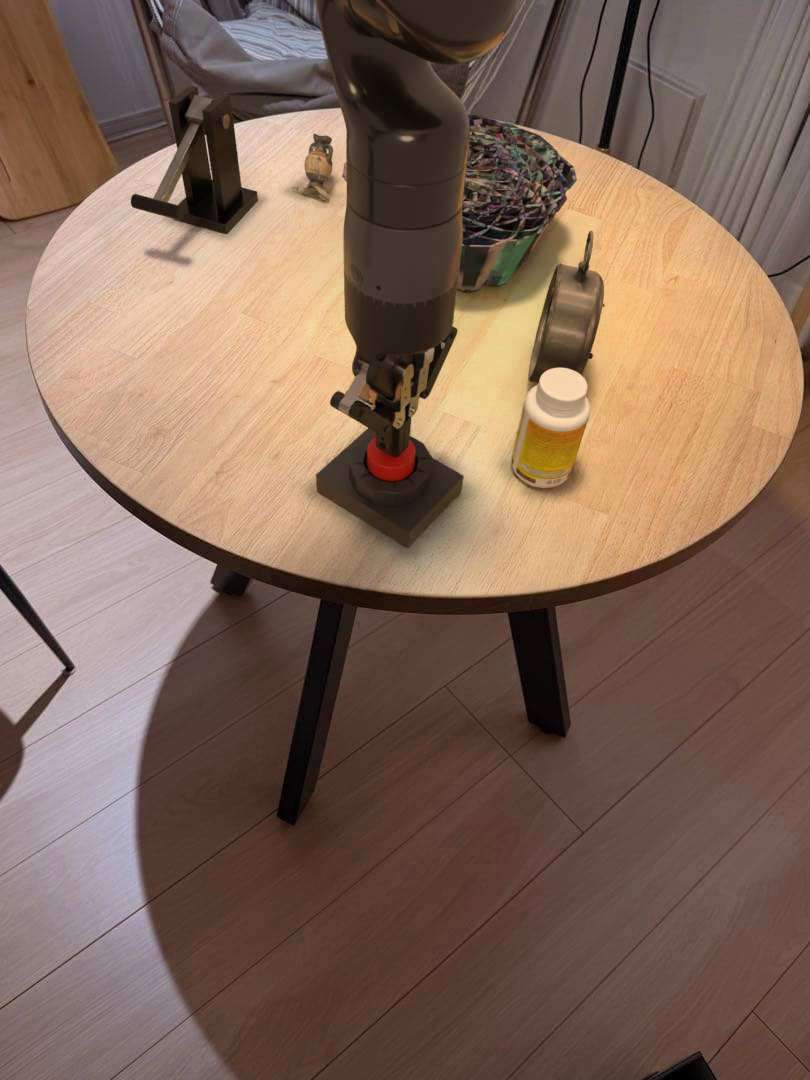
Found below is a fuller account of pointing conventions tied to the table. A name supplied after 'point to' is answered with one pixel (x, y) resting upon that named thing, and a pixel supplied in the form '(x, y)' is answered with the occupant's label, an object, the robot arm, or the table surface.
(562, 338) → the alarm clock
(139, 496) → the table surface
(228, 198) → the bracket
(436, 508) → the control block
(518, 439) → the supplement bottle
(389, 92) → the robot arm
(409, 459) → the button
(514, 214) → the decorative bowl
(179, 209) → the lever
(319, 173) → the vase
